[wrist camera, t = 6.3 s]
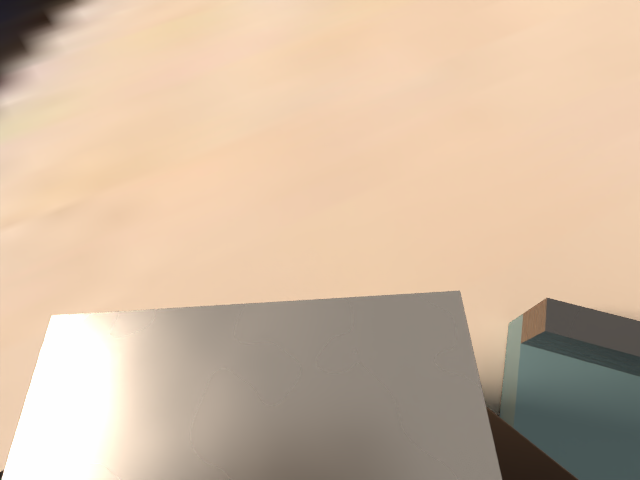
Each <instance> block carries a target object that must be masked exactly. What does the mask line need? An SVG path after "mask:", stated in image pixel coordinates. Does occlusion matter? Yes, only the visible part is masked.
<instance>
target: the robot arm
mask: <svg viewBox="0 0 640 480" xmlns="http://www.w3.org/2000/svg"><path fill="white" fill-rule="evenodd" d="M486 409H487V414H488V418H489V423H490V427H491V432H492V436H493V441H494V445H495V450H496V454H497V458H498V463H499V467H500V472H501V476H502V480H579V479H577V478H576V477H575V476H574V475H572V474H571V473H570V472H569V471H567V470H566V469H565V468H563V467H562V466H561V465H560V464H558V463H557V462H556V461H555V460H553V459H552V458H551V457H550V456H548V455H547V454H546V453H545V452H543V451H542V450H541V449H539V448H538V447H537V446H536V445H534V444H533V443H532V442H531V441H529V440H528V439H527V438H526V437H524V436H523V435H522V434H520V433H519V432H518V431H517V430H515V429H514V428H513V427H512V426H510V425H509V424H508V423H507V422H505V421H504V420H503V419H502V418H500V417H499V416H498V415H496V414H495V413H494V412H493V411H491V410H490V409H489V408H488V407H486ZM4 471H5V469H4V470H3V471H1V472H0V480H2V478H3V474H4Z"/></svg>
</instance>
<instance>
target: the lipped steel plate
mask: <svg viewBox="0 0 640 480" xmlns="http://www.w3.org/2000/svg"><path fill="white" fill-rule="evenodd" d="M499 417H500V418H502V419H503V420H504V421H505V422H507V423H508V424H509V425H510V426H512V427H513V428H514V429H515V430H517V431H518V432H519V433H520V434H522V435H523V436H524V437H526V438H527V439H528V440H529V441H531V442H532V443H533V444H534V445H536V446H537V447H538V448H539V449H541V450H542V451H543V452H545V453H546V454H547V455H548V456H550V457H551V458H552V459H553V460H555V461H556V462H557V463H558V464H560V465H561V466H562V467H563V468H565V469H566V470H567V471H569V472H570V473H571V474H572V475H574V476H575V477H576V478H577V479H579V480H640V321H637V320H633V319H629V318H625V317H621V316H617V315H613V314H609V313H605V312H601V311H597V310H593V309H589V308H585V307H581V306H577V305H573V304H569V303H566V302H562V301H558V300H554V299H550V298H546V299H544V300H543V301H541V302H540V303H538V304H537V305H535V306H534V307H532V308H531V309H529V310H528V311H527V312H525V313H524V314H522V315H521V316H519V317H518V318H516V319H515V320H513V321H512V322H510V323H509V327H508V337H507V347H506V357H505V367H504V377H503V386H502V396H501V406H500V416H499Z"/></svg>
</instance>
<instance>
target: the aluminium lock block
mask: <svg viewBox="0 0 640 480" xmlns="http://www.w3.org/2000/svg"><path fill="white" fill-rule="evenodd" d="M2 480H502V476H501V472H500V467H499V463H498V458H497V454H496V450H495V445H494V441H493V436H492V432H491V427H490V423H489V418H488V414H487V409H486V405H485V400H484V396H483V391H482V387H481V383H480V378H479V374H478V369H477V365H476V360H475V356H474V351H473V347H472V342H471V338H470V333H469V329H468V324H467V320H466V315H465V311H464V307H463V302H462V298H461V293H460V291H448V292H432V293H415V294H399V295H382V296H365V297H349V298H332V299H316V300H299V301H283V302H266V303H249V304H233V305H216V306H200V307H183V308H167V309H150V310H134V311H117V312H100V313H84V314H67V315H52V317H51V320H50V323H49V326H48V330H47V333H46V336H45V340H44V343H43V346H42V349H41V353H40V356H39V359H38V363H37V366H36V369H35V372H34V376H33V379H32V382H31V386H30V389H29V392H28V395H27V399H26V402H25V405H24V409H23V412H22V415H21V418H20V422H19V425H18V428H17V432H16V435H15V438H14V441H13V445H12V448H11V451H10V455H9V458H8V461H7V464H6V468H5V471H4V474H3V478H2Z"/></svg>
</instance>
